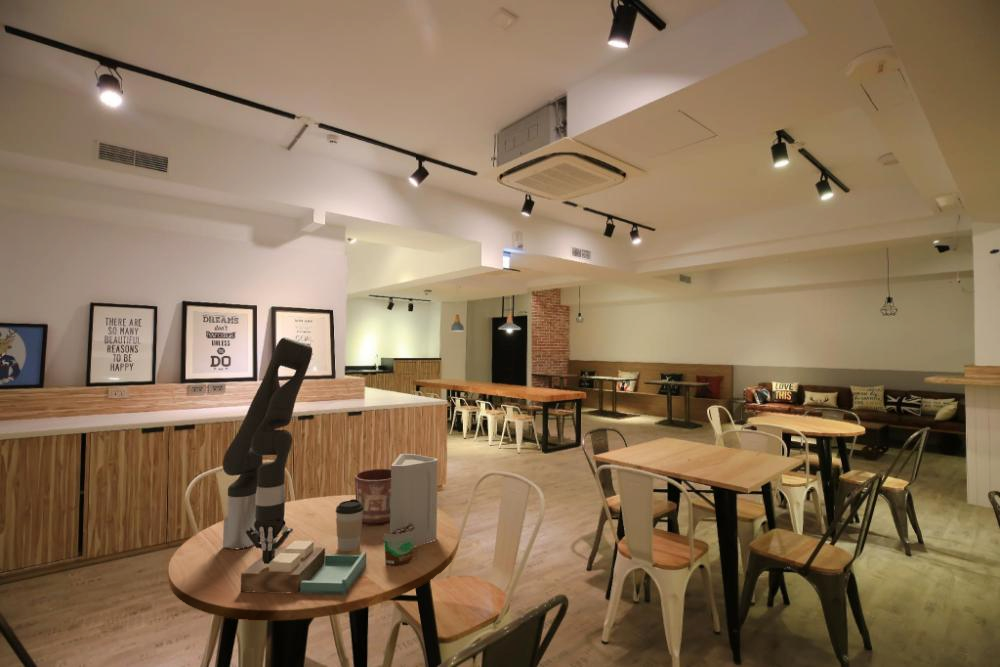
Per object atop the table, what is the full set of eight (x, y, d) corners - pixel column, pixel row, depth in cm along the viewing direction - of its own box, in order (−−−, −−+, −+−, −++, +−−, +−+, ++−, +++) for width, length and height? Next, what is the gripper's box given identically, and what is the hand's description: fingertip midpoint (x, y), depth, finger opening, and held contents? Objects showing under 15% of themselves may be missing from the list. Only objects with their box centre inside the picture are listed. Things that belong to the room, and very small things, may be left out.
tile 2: (284, 557, 139) (285, 548, 139) (294, 548, 145) (294, 540, 145) (304, 557, 139) (305, 549, 139) (313, 549, 145) (313, 541, 145)
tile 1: (269, 571, 130) (269, 562, 130) (279, 561, 136) (280, 553, 136) (290, 571, 130) (290, 562, 130) (300, 562, 136) (300, 553, 136)
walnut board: (240, 591, 129) (241, 573, 129) (273, 562, 147) (274, 546, 147) (298, 593, 128) (298, 574, 128) (324, 564, 146) (325, 547, 146)
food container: (396, 571, 142) (397, 538, 142) (382, 566, 145) (382, 533, 145) (423, 557, 152) (424, 525, 153) (409, 552, 155) (410, 521, 156)
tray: (300, 593, 128) (300, 578, 128) (326, 564, 146) (326, 550, 146) (345, 594, 128) (345, 579, 128) (366, 565, 146) (366, 551, 146)
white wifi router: (433, 550, 157) (435, 466, 159) (388, 550, 157) (390, 465, 158) (438, 529, 176) (440, 453, 178) (398, 529, 176) (400, 453, 177)
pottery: (347, 517, 187) (348, 472, 188) (388, 509, 198) (389, 466, 198) (362, 532, 173) (364, 482, 173) (406, 522, 183) (408, 475, 184)
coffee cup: (354, 554, 154) (355, 507, 154) (329, 551, 156) (330, 505, 156) (367, 543, 163) (368, 499, 163) (343, 540, 164) (344, 497, 165)
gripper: (239, 504, 130) (237, 568, 130) (286, 505, 130) (284, 569, 129) (254, 496, 138) (252, 556, 137) (299, 497, 137) (297, 557, 137)
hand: (268, 562), depth 133 cm, fingers closed
